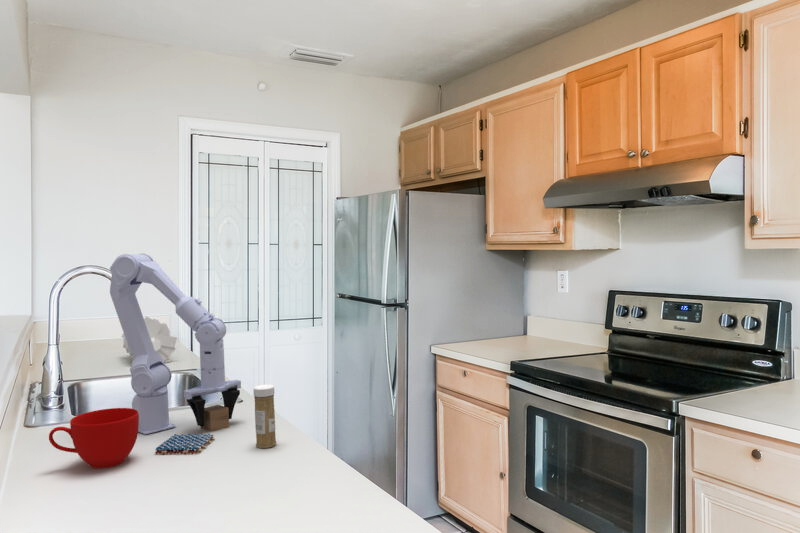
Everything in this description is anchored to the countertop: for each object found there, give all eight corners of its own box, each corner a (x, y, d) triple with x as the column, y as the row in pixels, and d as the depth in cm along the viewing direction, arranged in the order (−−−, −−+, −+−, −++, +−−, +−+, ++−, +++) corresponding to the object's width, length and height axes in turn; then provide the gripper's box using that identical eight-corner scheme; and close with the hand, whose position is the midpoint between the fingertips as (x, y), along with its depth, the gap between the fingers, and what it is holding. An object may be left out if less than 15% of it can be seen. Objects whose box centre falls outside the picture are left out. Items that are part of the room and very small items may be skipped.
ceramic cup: (54, 461, 128) (52, 415, 128) (140, 448, 135) (138, 404, 135) (45, 482, 116) (43, 431, 116) (140, 467, 123) (138, 419, 123)
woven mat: (152, 458, 130) (151, 448, 130) (172, 441, 141) (172, 433, 141) (199, 457, 130) (198, 448, 130) (216, 441, 140) (216, 432, 140)
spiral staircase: (144, 377, 234) (132, 364, 255) (185, 353, 242) (171, 342, 263) (121, 337, 228) (110, 328, 249) (164, 314, 236) (151, 306, 257)
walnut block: (200, 428, 149) (199, 408, 149) (218, 423, 153) (217, 404, 153) (211, 432, 146) (210, 412, 146) (229, 427, 150) (228, 407, 150)
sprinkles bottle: (279, 446, 134) (277, 386, 134) (259, 450, 131) (257, 389, 131) (271, 440, 138) (269, 382, 137) (252, 445, 135) (250, 386, 135)
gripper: (193, 375, 141) (195, 432, 142) (246, 364, 152) (248, 418, 152) (179, 371, 146) (181, 426, 146) (231, 361, 157) (233, 413, 157)
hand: (214, 422), depth 150 cm, fingers open, 7 cm apart
